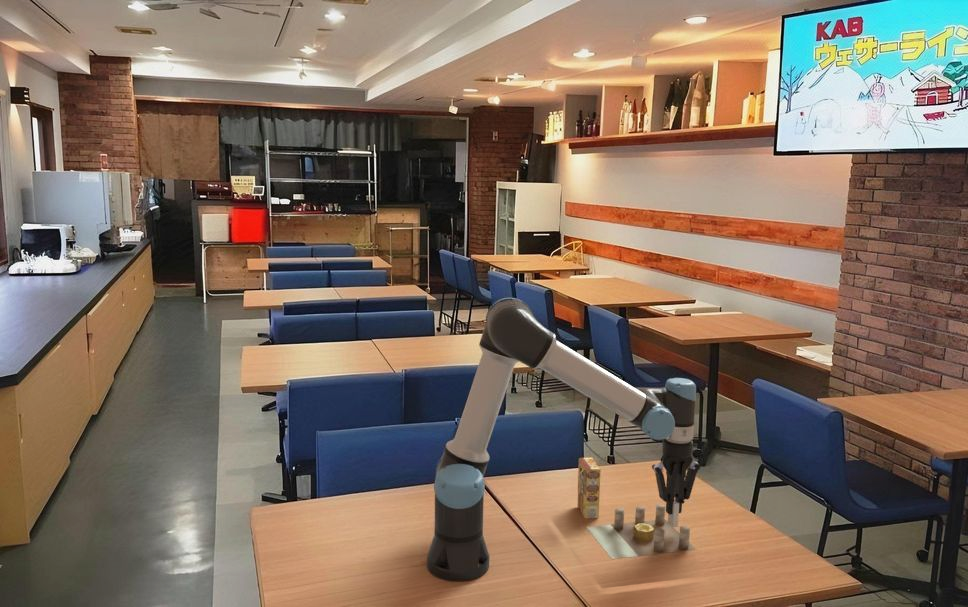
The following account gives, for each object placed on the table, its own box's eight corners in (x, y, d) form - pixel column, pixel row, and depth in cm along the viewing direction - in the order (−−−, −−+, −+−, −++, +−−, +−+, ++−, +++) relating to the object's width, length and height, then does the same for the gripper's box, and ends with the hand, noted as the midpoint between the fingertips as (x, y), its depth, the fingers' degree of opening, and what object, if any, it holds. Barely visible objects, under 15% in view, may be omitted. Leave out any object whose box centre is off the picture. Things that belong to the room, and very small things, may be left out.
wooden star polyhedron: (639, 543, 188) (640, 532, 188) (631, 533, 193) (631, 523, 192) (655, 541, 189) (656, 531, 189) (646, 532, 194) (647, 522, 193)
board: (611, 563, 180) (613, 539, 179) (585, 531, 196) (586, 509, 195) (696, 553, 186) (698, 530, 185) (664, 523, 202) (665, 502, 201)
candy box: (599, 521, 202) (601, 469, 199) (584, 522, 201) (586, 469, 199) (590, 507, 210) (592, 456, 208) (575, 508, 210) (578, 457, 207)
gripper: (661, 445, 183) (656, 533, 187) (708, 441, 186) (702, 528, 190) (648, 435, 190) (643, 520, 194) (693, 432, 194) (688, 515, 198)
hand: (672, 524), depth 192 cm, fingers closed
